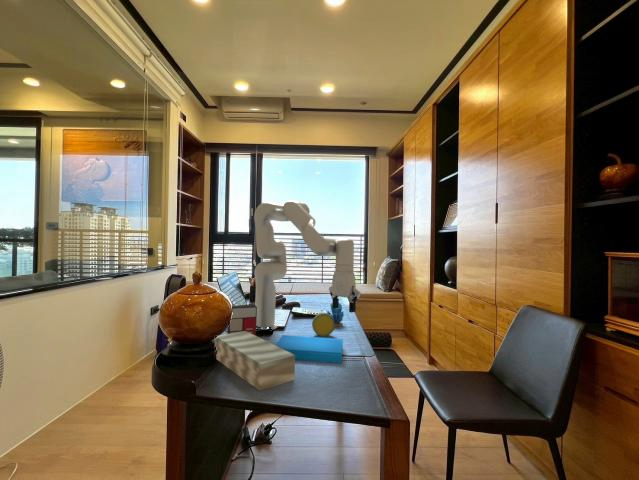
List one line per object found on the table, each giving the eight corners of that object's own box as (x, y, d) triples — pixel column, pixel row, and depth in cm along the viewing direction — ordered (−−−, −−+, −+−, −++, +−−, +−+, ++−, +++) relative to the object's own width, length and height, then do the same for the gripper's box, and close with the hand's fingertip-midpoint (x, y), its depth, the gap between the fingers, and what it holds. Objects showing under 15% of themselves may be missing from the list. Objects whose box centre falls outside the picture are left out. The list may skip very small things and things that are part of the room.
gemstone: (325, 323, 165) (326, 300, 165) (342, 323, 166) (343, 300, 166) (327, 327, 158) (328, 302, 158) (345, 327, 159) (346, 303, 159)
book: (281, 335, 130) (342, 337, 128) (281, 345, 130) (342, 348, 128) (272, 348, 113) (342, 352, 111) (272, 361, 113) (342, 364, 111)
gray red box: (228, 346, 124) (229, 308, 124) (226, 342, 128) (228, 305, 128) (256, 343, 129) (257, 306, 129) (253, 340, 133) (255, 304, 133)
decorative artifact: (312, 336, 141) (313, 313, 142) (311, 331, 148) (311, 310, 148) (334, 336, 142) (335, 314, 143) (332, 332, 149) (333, 310, 150)
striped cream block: (214, 357, 112) (214, 336, 112) (244, 350, 120) (245, 330, 120) (259, 390, 89) (260, 364, 89) (294, 379, 97) (295, 355, 97)
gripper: (323, 267, 136) (323, 307, 136) (353, 270, 123) (352, 315, 123) (336, 267, 141) (335, 305, 141) (366, 270, 128) (365, 312, 128)
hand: (343, 310), depth 132 cm, fingers open, 9 cm apart
